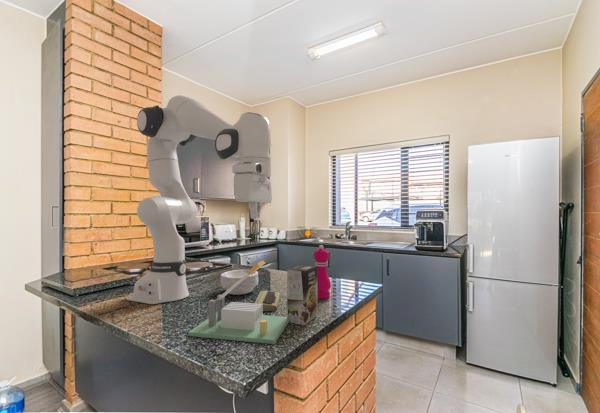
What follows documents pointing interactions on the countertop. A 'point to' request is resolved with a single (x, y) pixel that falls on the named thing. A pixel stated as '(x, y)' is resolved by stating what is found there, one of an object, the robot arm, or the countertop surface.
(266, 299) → the computer
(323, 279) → the pepper mill
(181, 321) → the countertop surface
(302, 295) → the coffee box
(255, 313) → the heatsink board
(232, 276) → the paper bowls
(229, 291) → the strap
